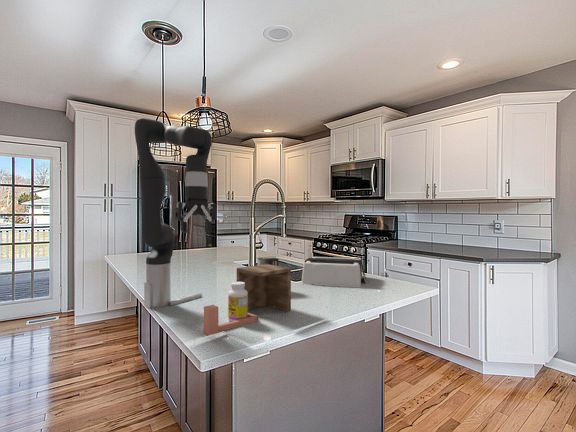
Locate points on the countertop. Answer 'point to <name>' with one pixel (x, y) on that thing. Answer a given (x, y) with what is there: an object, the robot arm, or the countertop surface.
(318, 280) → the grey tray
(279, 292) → the shelf
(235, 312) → the supplement bottle
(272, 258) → the coffee box
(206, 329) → the crook
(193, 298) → the grey dowel
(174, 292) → the countertop surface
